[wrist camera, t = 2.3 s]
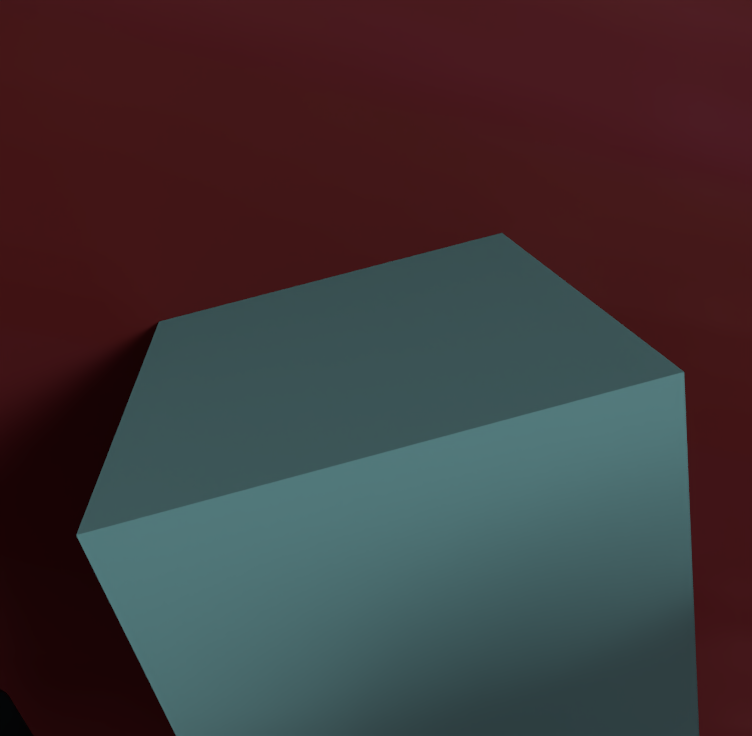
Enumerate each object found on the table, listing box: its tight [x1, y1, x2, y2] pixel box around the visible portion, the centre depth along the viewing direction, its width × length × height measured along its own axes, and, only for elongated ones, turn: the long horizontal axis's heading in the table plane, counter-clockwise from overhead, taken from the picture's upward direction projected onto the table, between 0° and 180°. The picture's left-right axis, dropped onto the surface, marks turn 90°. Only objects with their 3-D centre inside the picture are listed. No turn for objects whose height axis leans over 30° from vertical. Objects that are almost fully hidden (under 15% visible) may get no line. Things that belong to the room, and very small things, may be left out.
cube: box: [76, 233, 699, 736], centre depth 9 cm, size 5×5×5 cm
